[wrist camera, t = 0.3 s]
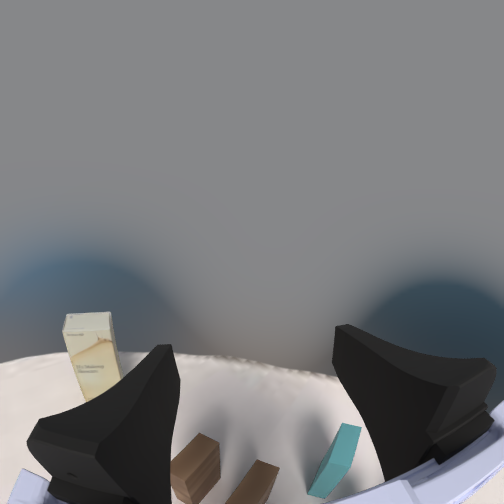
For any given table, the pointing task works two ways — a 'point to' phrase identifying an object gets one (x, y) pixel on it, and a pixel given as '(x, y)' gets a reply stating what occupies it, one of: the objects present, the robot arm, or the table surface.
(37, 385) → the table surface
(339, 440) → the domino
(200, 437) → the domino
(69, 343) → the skincare box
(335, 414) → the table surface
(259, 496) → the domino
